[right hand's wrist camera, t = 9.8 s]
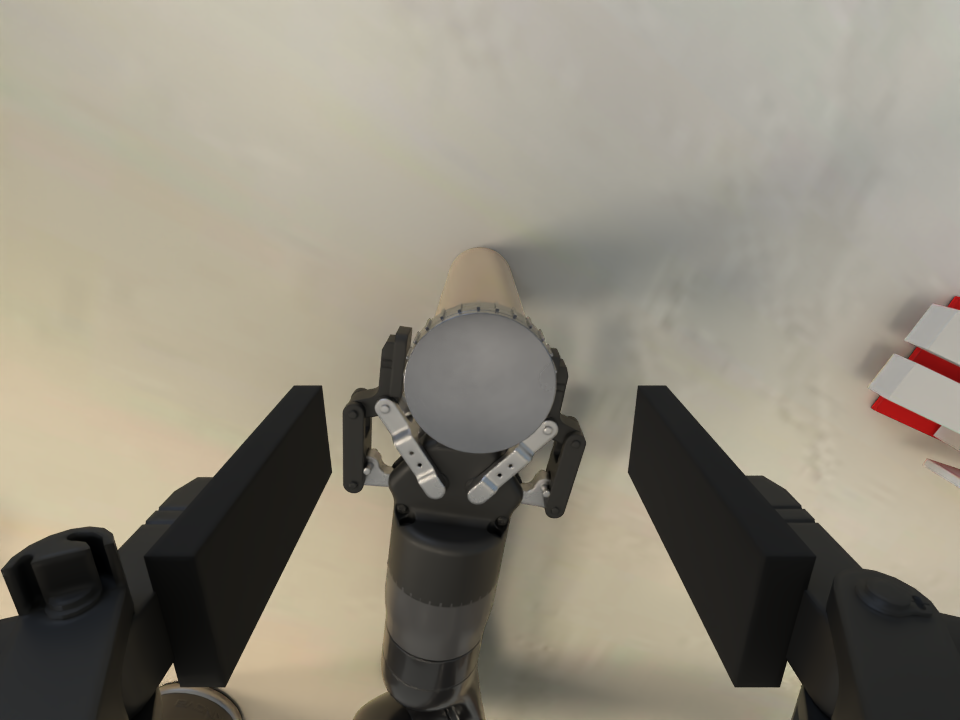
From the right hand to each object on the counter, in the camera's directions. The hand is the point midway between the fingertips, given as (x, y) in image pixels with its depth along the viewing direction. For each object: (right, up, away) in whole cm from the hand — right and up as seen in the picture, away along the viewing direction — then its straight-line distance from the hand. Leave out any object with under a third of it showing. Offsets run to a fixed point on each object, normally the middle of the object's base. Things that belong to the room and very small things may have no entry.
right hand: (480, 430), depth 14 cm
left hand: (0, +3, +15) cm, 15 cm away
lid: (0, +1, +3) cm, 3 cm away
